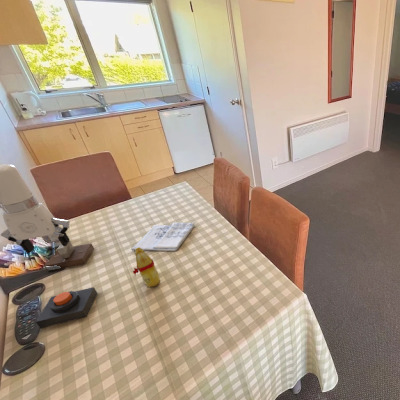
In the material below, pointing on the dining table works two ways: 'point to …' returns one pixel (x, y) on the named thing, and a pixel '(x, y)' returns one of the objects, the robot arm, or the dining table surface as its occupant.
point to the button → (62, 298)
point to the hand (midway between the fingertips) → (49, 247)
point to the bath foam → (51, 238)
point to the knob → (65, 250)
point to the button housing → (67, 308)
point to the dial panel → (72, 257)
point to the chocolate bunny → (146, 268)
